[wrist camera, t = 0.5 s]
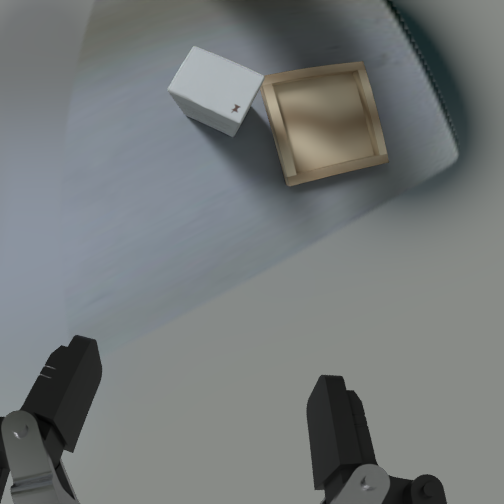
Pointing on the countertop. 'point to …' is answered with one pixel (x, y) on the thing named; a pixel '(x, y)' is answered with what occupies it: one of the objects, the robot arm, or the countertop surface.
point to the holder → (323, 121)
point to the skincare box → (215, 90)
